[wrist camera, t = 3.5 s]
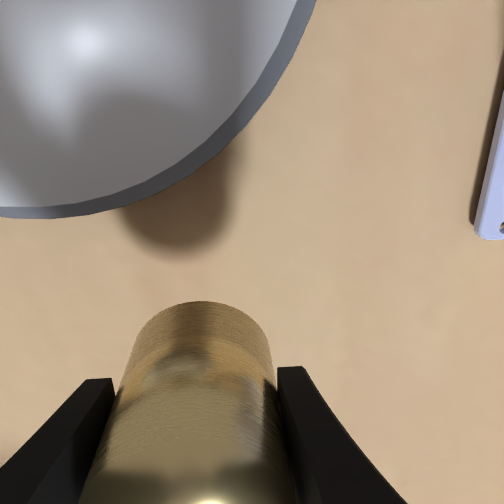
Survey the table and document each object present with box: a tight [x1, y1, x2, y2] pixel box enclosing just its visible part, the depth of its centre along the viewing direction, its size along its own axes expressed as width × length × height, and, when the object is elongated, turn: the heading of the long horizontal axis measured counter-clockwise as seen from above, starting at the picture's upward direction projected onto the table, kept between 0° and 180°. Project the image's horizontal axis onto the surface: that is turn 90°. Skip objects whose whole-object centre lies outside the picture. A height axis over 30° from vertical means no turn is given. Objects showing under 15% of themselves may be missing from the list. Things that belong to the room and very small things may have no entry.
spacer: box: [78, 301, 297, 504], centre depth 9 cm, size 4×4×4 cm
